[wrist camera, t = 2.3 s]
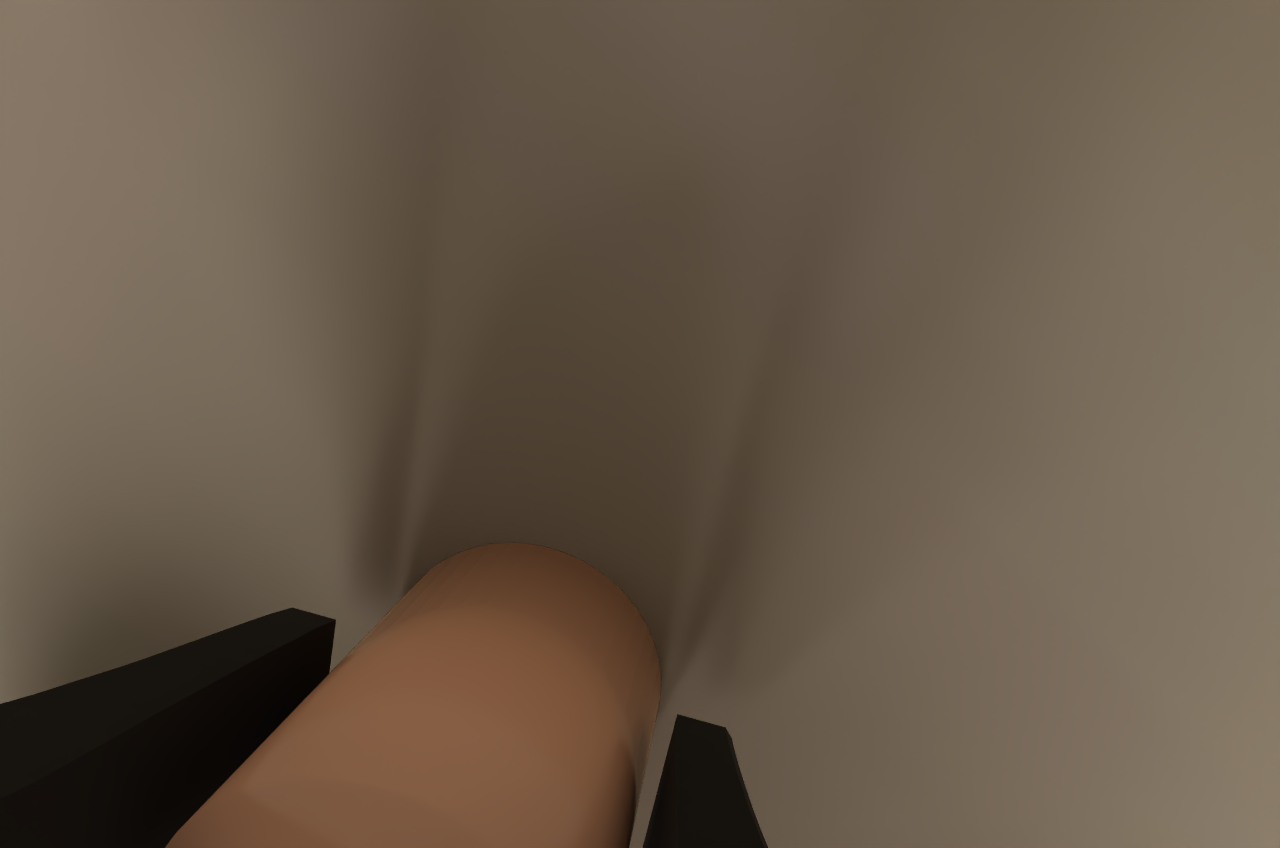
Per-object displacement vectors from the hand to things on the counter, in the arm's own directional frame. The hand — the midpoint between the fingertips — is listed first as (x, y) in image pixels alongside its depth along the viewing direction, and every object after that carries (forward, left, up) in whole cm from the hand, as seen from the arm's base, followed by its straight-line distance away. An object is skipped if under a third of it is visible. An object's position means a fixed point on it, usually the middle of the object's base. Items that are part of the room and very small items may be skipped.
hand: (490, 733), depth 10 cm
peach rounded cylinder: (0, 0, -1) cm, 1 cm away
